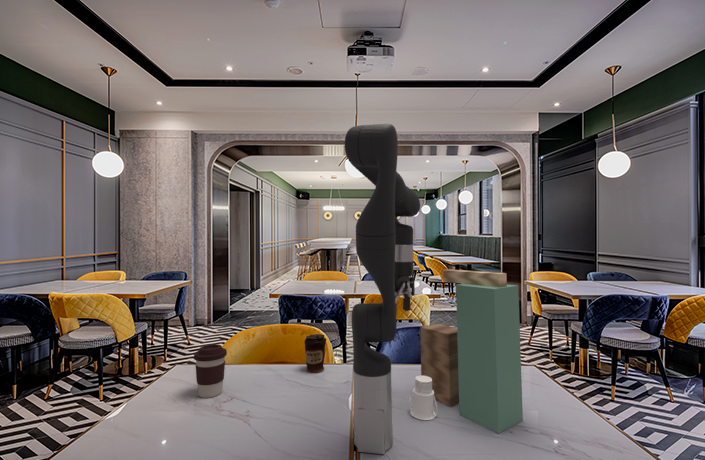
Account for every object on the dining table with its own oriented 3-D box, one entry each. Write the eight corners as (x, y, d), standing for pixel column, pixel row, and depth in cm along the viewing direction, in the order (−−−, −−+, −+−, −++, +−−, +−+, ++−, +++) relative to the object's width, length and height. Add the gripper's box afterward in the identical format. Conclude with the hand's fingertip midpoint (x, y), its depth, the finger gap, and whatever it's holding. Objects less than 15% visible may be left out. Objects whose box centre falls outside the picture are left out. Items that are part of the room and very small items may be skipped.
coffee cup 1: (204, 403, 106) (204, 353, 107) (187, 395, 112) (187, 348, 113) (232, 391, 114) (232, 345, 115) (215, 384, 120) (216, 341, 121)
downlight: (405, 416, 96) (406, 380, 96) (413, 405, 102) (413, 371, 102) (433, 424, 92) (434, 386, 92) (440, 412, 99) (440, 377, 99)
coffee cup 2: (325, 374, 128) (324, 339, 128) (302, 374, 128) (302, 339, 128) (327, 366, 137) (327, 332, 137) (306, 366, 137) (306, 333, 137)
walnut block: (467, 399, 106) (465, 330, 107) (450, 406, 101) (448, 334, 102) (438, 387, 115) (437, 323, 116) (421, 393, 111) (420, 326, 112)
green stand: (522, 420, 93) (518, 285, 94) (498, 433, 87) (494, 289, 88) (483, 403, 103) (480, 281, 104) (459, 414, 97) (455, 284, 98)
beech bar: (506, 286, 93) (506, 273, 93) (499, 287, 91) (498, 274, 91) (450, 280, 109) (450, 269, 109) (443, 281, 107) (442, 270, 107)
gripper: (400, 262, 97) (399, 320, 97) (422, 258, 108) (421, 310, 108) (377, 260, 101) (376, 315, 101) (401, 257, 113) (400, 307, 113)
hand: (399, 313), depth 105 cm, fingers open, 8 cm apart
